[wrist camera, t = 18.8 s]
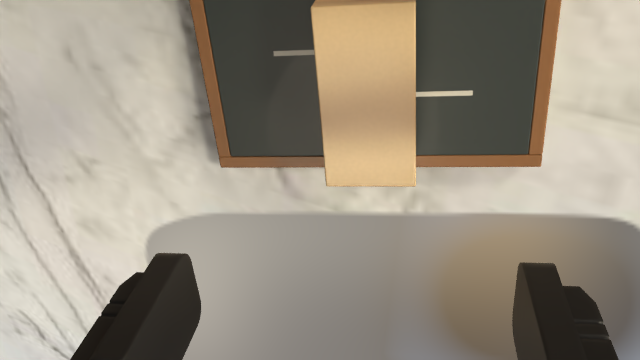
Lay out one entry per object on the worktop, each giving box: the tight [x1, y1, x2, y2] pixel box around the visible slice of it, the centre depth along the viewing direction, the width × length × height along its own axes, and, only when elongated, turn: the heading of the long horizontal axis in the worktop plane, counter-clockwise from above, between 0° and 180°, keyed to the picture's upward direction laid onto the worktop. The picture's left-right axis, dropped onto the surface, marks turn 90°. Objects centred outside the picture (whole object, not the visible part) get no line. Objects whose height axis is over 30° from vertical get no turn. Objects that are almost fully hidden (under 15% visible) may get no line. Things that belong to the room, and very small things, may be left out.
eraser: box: [310, 0, 416, 186], centre depth 31 cm, size 10×5×4 cm, turn 5°
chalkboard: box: [189, 0, 561, 167], centre depth 33 cm, size 12×20×1 cm, turn 95°
